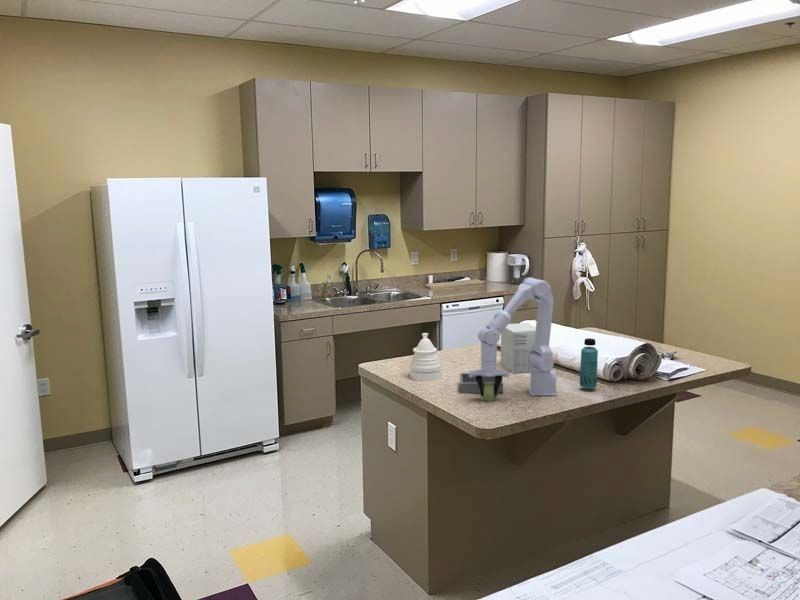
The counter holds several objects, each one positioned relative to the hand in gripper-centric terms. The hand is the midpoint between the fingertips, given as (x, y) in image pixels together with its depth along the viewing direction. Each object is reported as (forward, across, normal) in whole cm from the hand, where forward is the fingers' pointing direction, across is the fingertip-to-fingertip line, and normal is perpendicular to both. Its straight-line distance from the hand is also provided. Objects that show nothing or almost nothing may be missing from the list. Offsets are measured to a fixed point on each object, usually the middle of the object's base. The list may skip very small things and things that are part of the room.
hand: (488, 395), depth 241 cm
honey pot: (+2, -24, +30) cm, 38 cm away
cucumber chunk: (+1, 0, 0) cm, 1 cm away
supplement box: (+2, +17, +44) cm, 47 cm away
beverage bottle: (+2, +39, +12) cm, 41 cm away
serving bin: (+2, -2, +14) cm, 14 cm away
